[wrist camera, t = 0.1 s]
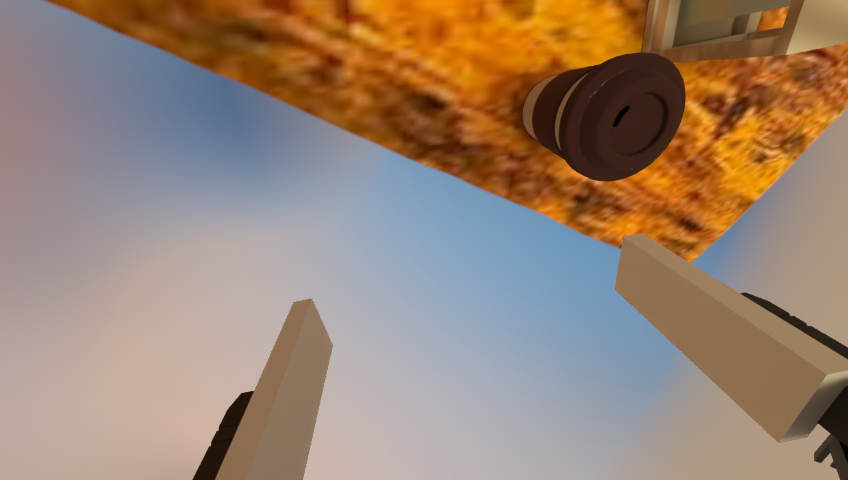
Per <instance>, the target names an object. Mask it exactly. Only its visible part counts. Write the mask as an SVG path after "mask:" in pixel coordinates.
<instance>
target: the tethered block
mask: <svg viewBox="0 0 848 480" xmlns="http://www.w3.org/2000/svg"><path fill="white" fill-rule="evenodd" d="M791 1H792V0H681V3H680V8H679V14H678V19H677V24H676V28H677V27H683V26H688V25H693V24H699V23H704V22H709V21H715V20H720V19H725V18H731V17H736V16H741V15H746V14H751V13H756V12H761V11H766V10H771V9H776V8H781V7H786V6H790V4H791Z"/></svg>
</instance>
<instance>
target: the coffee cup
mask: <svg viewBox="0 0 848 480" xmlns="http://www.w3.org/2000/svg"><path fill="white" fill-rule="evenodd" d="M685 96H686V95H685V85H684V81H683V78H682V76H681V74H680V72H679V70H678V69H677V67H676V66H675V65H674V64H673V63H672V62H671V61H670V60H668V59H667V58H665V57H663V56H661V55H658V54H655V53H632V54H625V55H620V56H617V57H614V58H612V59H609V60H607V61H605V62H603V63H602V64H599V65H594V66H589V67H585V68H580V69H575V70H570V71H567V72H564V73H562V74H560V75H555V76H551V77H548V78H546V79H544V80H542V81H541V82H539V83H538V84H537V85H536V86H535V87H534V88H533V89H532V90H531V92H530V93H529V95H528V96H527V98H526V101H525V104H524V107H523V123H524V126H525V128H526V130H527V132H528V133H529V134H530V135H531V136H532V137H533V138H535V139H536V140H538V141H539V142H540V143H541V144H542V145H543V146H544V147H546V148H547V149H549V150H550V151H552V152H554V153H555V154H557V155H558V156H560V157H562V158H563V159H565V160H566V162H567V163H568V165H569V166H570V167H571V168H572V169H574V170H575V171H576V172H578V173H580V174H582V175H584V176H585V177H588V178H590V179H593V180H597V181H616V180H621V179H624V178H627V177H629V176H632V175H634V174H636V173H638V172H639V171H641V170H643V169H644V168H646V167H647V166H648V165H650V164H651V163H652V162H653V161H654V160H655V159H657V158H658V157H659V156H660V155H661V153H662V152H663V151H664V150H665V149H666V148H667V146H668V145H669V143H670V142H671V140H672V139H673V137H674V135H675V133H676V131H677V129H678V127H679V125H680V123H681V119H682V116H683V112H684V108H685Z"/></svg>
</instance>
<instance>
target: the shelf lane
mask: <svg viewBox="0 0 848 480" xmlns="http://www.w3.org/2000/svg"><path fill="white" fill-rule="evenodd" d="M680 3H681V0H649V4H648V11H647V18H646V24H645V31H644V38H643V45H642V52H641V53H655V54H658V55H661V56H663V57H665V58H667V59H668V60H670V61H671V62H686V61H701V60H716V59H732V58H747V57H762V56H777V55H788V54H793V53H798V52H803V51H808V50H813V49H818V48H823V47H828V46H834V45H839V44H844V43H848V0H792V1H791V4H790V7H789V10H788V13H787V16H786V19H785V22H784V25H783V28H776V29H769V30H761V31H756V30H757V26H758V23H759V19H760V16H761V13H762V11H761V12H756V13H751V14H746V15H741V16H736V17H731V18H725V19H720V20H715V21H709V22H704V23H699V24H693V25H688V26H683V27H677V28H676V24H677V19H678V14H679V8H680Z"/></svg>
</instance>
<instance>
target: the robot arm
mask: <svg viewBox="0 0 848 480" xmlns="http://www.w3.org/2000/svg"><path fill="white" fill-rule="evenodd" d="M615 290H616V291H617V292H618V293H619V294H620V295H621V296H623V298H624V299H626V300H627V301H628V302H629V303H630V304H631V305H632V306H633V307H634V308H635V309H636V310H637V311H638V312H639V313H640V314H642V315H643V316H644V317H645V318H646V319H647V320H648V321H649V322H650V323H651V324H652V325H653V326H654V327H655V328H657V329H658V330H659V331H660V332H661V333H662V334H663V335H664V336H665V337H666V338H667V339H668V340H669V341H670V342H671V343H673V344H674V345H675V346H676V347H677V348H678V349H679V350H680V351H681V352H682V353H683V354H684V355H685V356H686V357H687V358H689V359H690V360H691V361H692V362H693V363H694V364H695V365H696V366H697V367H698V368H699V369H700V370H701V371H702V372H703V373H705V374H706V375H707V376H708V377H709V378H710V379H711V380H712V381H713V382H714V383H715V384H716V385H717V386H718V387H720V388H721V389H722V390H723V391H724V392H725V393H726V394H727V395H728V396H729V397H730V398H731V399H732V400H733V401H734V402H736V403H737V404H738V405H739V406H740V407H741V408H742V409H743V410H744V411H745V412H746V413H747V414H748V415H749V416H751V417H752V418H753V419H754V420H755V421H756V422H757V423H758V424H759V425H760V426H761V427H762V428H763V429H764V430H765V431H766V432H768V433H769V434H770V435H771V436H772V437H773V438H774V439H775V440H776V441H777V442H778V443H781V442H786V441H791V440H795V439H800V438H806V437H808V435H809V434H810V433H811V431H812V430H813V429H814V428H815V426H816V425H817V424H820V425H821V426H822V427H823V428H824V429H826V430H827V431H828V432H829V433H831V434H830V435H829V436H828V437H827V439H826V440H825V441H824V442H823V443H822V445H821V446H820V447H819V448H818V450H817V451H816V452H815V453H814V461H817V462H820V463H821V462H822V461H823V460H824V459H825V458H826V457H827V456H828V455H829V453H831V455H832V458H833V462H832V464H831V467H833V468H835V469H837V472H838V475H839V477H840V480H848V347H846V346H844V345H842V344H841V343H839V342H837V341H836V340H834V339H832V338H830V337H829V336H827V335H825V334H824V333H822V332H820V331H819V330H817V329H815V328H814V327H812V326H807V325H806V323H805V322H803V321H801V320H800V319H798V318H796V317H795V316H790V315H789V313H788V312H786V311H784V310H783V309H781V308H779V307H777V306H776V305H774V304H772V303H771V302H769V301H767V300H764V299H761V298H758V297H756V296H753V295H751V294H748V293H738V292H736V291H735V290H733V289H731V288H730V287H728V286H727V285H725V284H723V283H722V282H720V281H718V280H717V279H715V278H713V277H712V276H710V275H709V274H707V273H705V272H704V271H702V270H701V269H699V268H697V267H696V266H694V265H692V264H691V263H689V262H687V261H686V260H684V259H683V258H681V257H679V256H678V255H676V254H674V253H673V252H671V251H669V250H668V249H666V248H665V247H663V246H661V245H660V244H658V243H656V242H655V241H653V240H651V239H650V238H648V237H647V236H645V235H643V234H642V233H641V234H636V235H631V236H626V237H623V242H622V248H621V255H620V261H619V266H618V273H617V279H616V285H615ZM332 347H333V345H332V343H331V340H330V338H329V336H328V333H327V331H326V329H325V327H324V325H323V322H322V320H321V318H320V316H319V313H318V311H317V309H316V307H315V305H314V302H313V300H312V299H308V300H303V301H297V302H294V303H293V305H292V307H291V309H290V312H289V314H288V316H287V319H286V321H285V323H284V325H283V328H282V330H281V332H280V335H279V336H278V339H277V341H276V343H275V345H274V348H273V350H272V352H271V354H270V357H269V359H268V361H267V364H266V366H265V368H264V370H263V373H262V375H261V377H260V379H259V382H258V384H257V386H256V388H255V391H250V392H245V393H241V394H240V395H239V397H238V398H237V399H236V400H235V401H234V403H233V404H232V405H231V406H230V407H229V409H228V410H227V412H226V414H225V416H224V418H223V420H222V422H221V424H220V426H219V430H218V431H217V432H216V434H215V436H214V438H213V440H212V442H211V446H209V448H208V450H207V452H206V454H205V456H204V458H203V460H202V462H201V464H200V466H199V468H198V470H197V472H196V474H195V476H194V478H193V480H303V476H304V472H305V467H306V463H307V459H308V454H309V449H310V445H311V441H312V436H313V432H314V427H315V422H316V418H317V414H318V409H319V405H320V400H321V396H322V391H323V387H324V382H325V378H326V373H327V369H328V364H329V360H330V356H331V351H332Z"/></svg>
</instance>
